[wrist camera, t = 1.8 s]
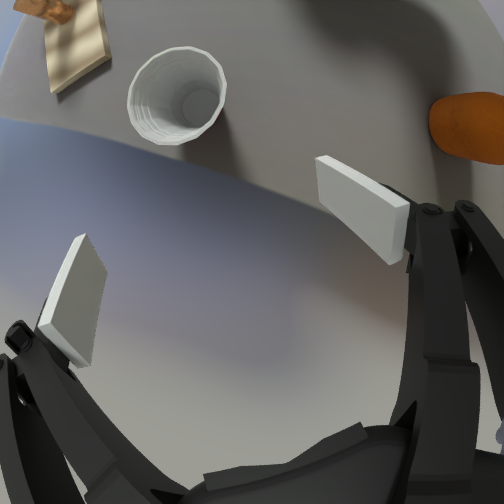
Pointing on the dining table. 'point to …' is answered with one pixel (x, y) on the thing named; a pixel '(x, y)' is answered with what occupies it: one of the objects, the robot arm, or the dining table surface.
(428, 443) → the robot arm
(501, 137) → the wine bottle
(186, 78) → the plastic cup
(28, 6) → the copper cylinder with rod
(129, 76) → the dining table surface
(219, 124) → the dining table surface
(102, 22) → the copper canister stand
